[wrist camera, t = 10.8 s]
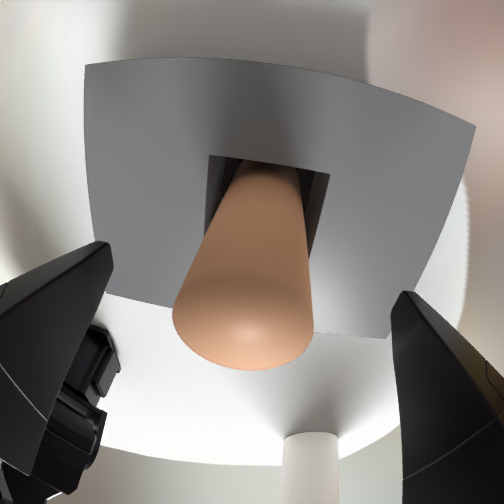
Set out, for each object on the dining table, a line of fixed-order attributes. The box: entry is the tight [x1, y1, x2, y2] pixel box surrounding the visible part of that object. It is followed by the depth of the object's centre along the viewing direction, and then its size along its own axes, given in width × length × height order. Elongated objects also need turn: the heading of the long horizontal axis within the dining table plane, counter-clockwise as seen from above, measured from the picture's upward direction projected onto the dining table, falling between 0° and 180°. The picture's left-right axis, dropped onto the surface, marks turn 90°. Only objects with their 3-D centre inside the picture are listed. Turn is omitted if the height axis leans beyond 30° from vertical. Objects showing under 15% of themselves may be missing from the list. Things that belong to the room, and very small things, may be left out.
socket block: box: [84, 58, 476, 339], centre depth 14 cm, size 16×12×4 cm
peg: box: [172, 160, 314, 371], centre depth 11 cm, size 3×3×10 cm
